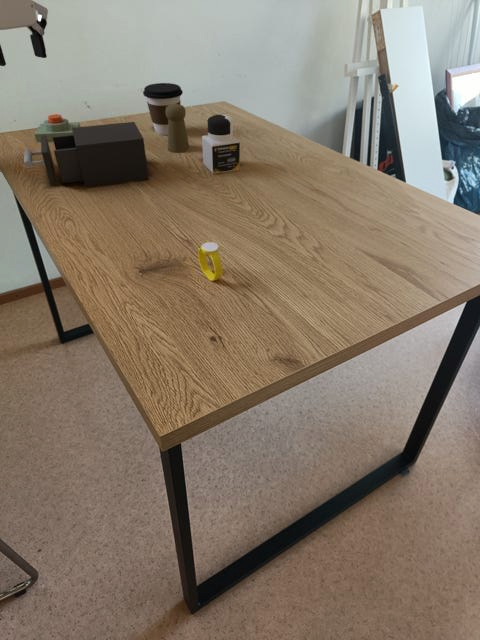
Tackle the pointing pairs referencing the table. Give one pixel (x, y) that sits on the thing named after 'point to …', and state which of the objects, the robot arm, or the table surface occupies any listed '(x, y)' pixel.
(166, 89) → the coffee cup
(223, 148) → the medicine bottle
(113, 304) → the table surface
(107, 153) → the black drawer box
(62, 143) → the drawer
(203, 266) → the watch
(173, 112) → the olive brown pawn
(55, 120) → the button
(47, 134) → the control block
